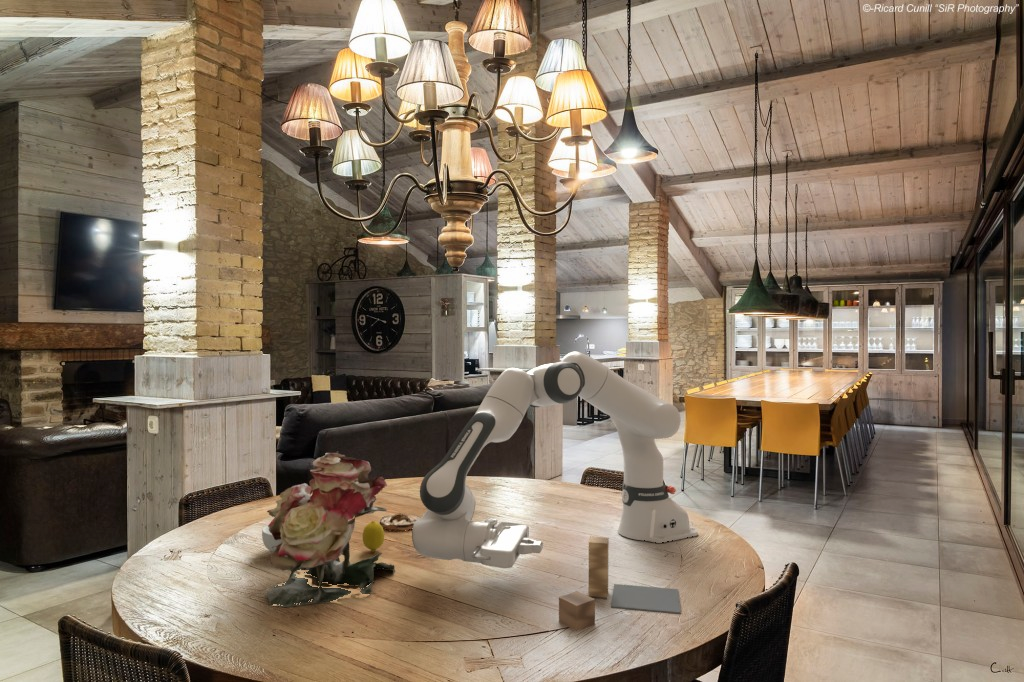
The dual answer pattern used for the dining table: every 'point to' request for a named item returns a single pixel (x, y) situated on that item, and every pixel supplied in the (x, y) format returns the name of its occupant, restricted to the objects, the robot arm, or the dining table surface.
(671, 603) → the felt mat
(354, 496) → the rose bouquet
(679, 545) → the dining table surface
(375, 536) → the lemon
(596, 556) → the oak block
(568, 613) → the walnut cube
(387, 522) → the cream pie
